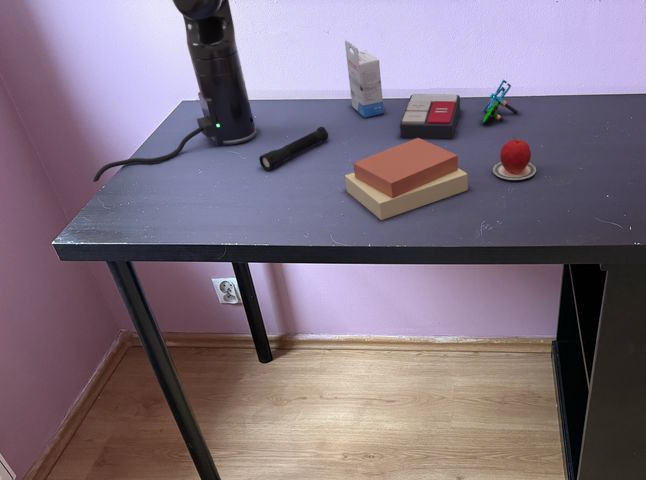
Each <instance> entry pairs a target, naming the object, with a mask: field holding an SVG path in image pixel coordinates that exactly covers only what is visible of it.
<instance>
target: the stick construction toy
mask: <svg viewBox="0 0 646 480" xmlns="http://www.w3.org/2000/svg"><path fill="white" fill-rule="evenodd" d="M504 83H505V84H506V85H507V86H508V87H507V88H505V87H504V86H503V85H504ZM511 88H512V85H511V84H510V83H507V81H506V79H502V81H501V82H500V84H499V86H498V87H497V89H496V90H495V92H491V93H490V97H491V99H490V100H489V101H488V103H487V105H486V106H485V107H484V109H483V111H482V112H483V113H484V114H485V115H484V117H483V119H482V123H483V124H486V123H488V121H490V119H491V118H492V117H493V118H495V119H496V120H498V121H500V122H503V121H504V118H503V117H502V116H501V115H500V114H498V113H497V110H498V109H499V106H501V107H502V108H504V107H505V108H506V109H508V110H509V111H510V112H512V113H513V114H515V115H517V114H518V113H519V111H518V109H516V108H514V107H513V106H512V105H510V104H509V103H508V101H507V100H506V99H504V97H506V95H507V93H508V92H509V90H510V89H511ZM500 93H501V94H500ZM499 94H500V96H498V95H499ZM494 101H495V103H494Z"/></svg>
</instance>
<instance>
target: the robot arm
mask: <svg viewBox="0 0 646 480" xmlns="http://www.w3.org/2000/svg"><path fill="white" fill-rule="evenodd" d="M172 3H173V4H174V6H175V8H176V9H177V11H178V12H179V14H181V15H182V18H183V21H184V28H185V35H186V46H187V49H188V53H189V56H190V59H191V63H192V64H191V65H192V67H193V68H192V69H193V70H194V75H195V78H196V82H197V86H198V90H199V92H197V96H198V99H199V104H200V107H201V110H202V114H203V117H198V118H196V121H197V125H198V128H196V129H195V130H193V131H191V132H190V133H188V134H187V135H186V136H185V137H184V138H183V139H182V140H181V142H180V143H179V145H178V147H177V148H176V149H174V150H173V151H172V152H170V153H168V154H165V155H161V156H157V157H151V158H143V157H134V158H133V157H132V158H127V159H123V160H118V161H113V162H109V163H107V164H105V165H103V166H102V167H101V168H99V170H97V172H96V173H95V175H94V177H93V180H92V182H94V183H96V182H99V180H100V179H101V177H102V175H103V174H104V173H105V172H106V171H107V170H110V169H111V168H112V169H113V168H115V167H120V166H126V165H129V164H130V165H131V164H134V163H135V164H137V163H143V164H154V163H159V162H163V161H167V160H170V159H173V158H174V157H176V156H177V155H179V154H180V153H181V152H182V151H183V149H184V147H185V145H186V144H187V143H188V141H190V140H191V139H192V138H194V137H195V136H197V135H198V134H200V133H202V134H203V136H205V137H206V139H209V138H210V139H211V140H212V141H213V142H214V143H215V144H216V145H217V146H219V147H220V146H221V147H222V146H228V145H229V146H230V145H238V144H242V143H246V142H248V141H251V140H252V139H254V138H255V137H256V135H257V127H255V121H254V119H255V118H254V116H253V115H254V114H253V112H252V108H251V103H250V99H249V95H248V90H247V86H246V80H245V77H244V73H243V67H242V64H241V60H240V54H239V50H238V46H237V41H236V30H235V25H234V20H233V15H232V11H231V10H232V9H231V4H230V1H229V0H172Z"/></svg>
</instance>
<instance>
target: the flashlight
mask: <svg viewBox="0 0 646 480" xmlns="http://www.w3.org/2000/svg"><path fill="white" fill-rule="evenodd" d="M328 139H329V132H328V131H327V130H326V128H325V127H324V126H319V127H317V128H316V130H315V131H313V132H310V133H308V134H306V135H304V136H302V137H300V138H298V139H296V140H294V141H292V142H291V143H288V144H286V145H284V146H282V147H280V148H278V149H273V150H271V151H268V152H266V153H263V154H262V155H260V156H259V159H258V160H259V164H260V166H261V168H262V169H264V170H265V171H270V170H272V169H274V168H275V167H277V166H279V165H281V164H282V163H283V162H285V160H288V159H289V158H292V157H293V156H295V155H298V154H299V153H301V152H303V151H305V150H308V149H309V148H311V147H313V146H315V145H317V144H319V143H321V142H326V141H327V140H328Z"/></svg>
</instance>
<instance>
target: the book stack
mask: <svg viewBox="0 0 646 480" xmlns="http://www.w3.org/2000/svg"><path fill="white" fill-rule="evenodd" d="M458 156H459V155H458V154H455V153H453V152H451V151H449V150H447V149H444V148H442V147H440V146H437V145H436V144H433V143H431V142H429V141H427V140H424V139H423V138H413V139H411V140H409V141H405V142H403V143H401V144H399V145H396V146H393V147H391V148H388V149H386V150H383V151H380V152H378V153H375V154H372V155H370V156H367V157H364V158H362V159H360V160H357V161H354V162H353V163H352V165H353V172H352V173H348V174H345V175H344V180H345V186H346V192H347V193H348V194H349V195H351V197H352V198H354V199H355V200H356V201H357V202H359V204H361V205H362V206H363V207H364V208H366V209H367V210H368V211H370V212H371V213H372V214H373V215H374V216H375V217H376V218H378V219H379V220H380V221H383V220H387V219H389V218H392V217H395V216H399V215H400V214H401V215H402V214H403V213H404V214H405V213H406V212H409V211H412V210H415V209H418V208H421V207H424V206H426V205H429V204H432V203H435V202H438V201H441V200H443V199H446V198H450V197H452V196H455V195H458V194H461V193H464V192H467V191H469V190H468V189H469V182H468V181H469V174H468V173H467V172H465V171H464V170H463V169H460V167H459V159H458V158H459V157H458Z"/></svg>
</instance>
